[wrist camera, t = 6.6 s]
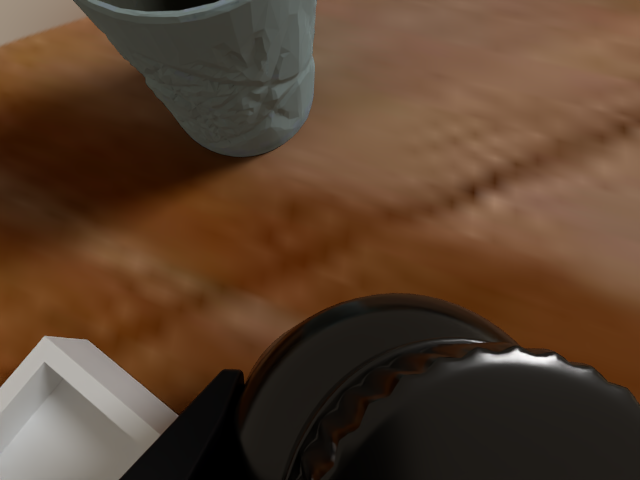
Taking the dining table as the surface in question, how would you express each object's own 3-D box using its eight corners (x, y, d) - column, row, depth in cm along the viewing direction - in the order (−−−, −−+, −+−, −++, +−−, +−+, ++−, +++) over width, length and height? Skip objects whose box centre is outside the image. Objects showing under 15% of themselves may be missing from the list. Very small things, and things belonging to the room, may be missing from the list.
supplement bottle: (197, 430, 15) (-25, 683, 3) (321, 283, 17) (446, 129, 5) (349, 568, 14) (680, 1403, 3) (459, 400, 16) (925, 510, 5)
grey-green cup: (306, 16, 28) (288, -226, 16) (345, 152, 25) (355, -25, 14) (153, 49, 28) (24, -175, 16) (175, 191, 25) (37, 43, 13)
